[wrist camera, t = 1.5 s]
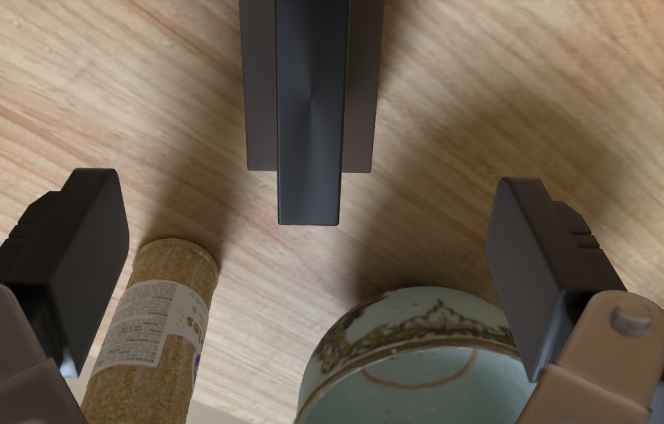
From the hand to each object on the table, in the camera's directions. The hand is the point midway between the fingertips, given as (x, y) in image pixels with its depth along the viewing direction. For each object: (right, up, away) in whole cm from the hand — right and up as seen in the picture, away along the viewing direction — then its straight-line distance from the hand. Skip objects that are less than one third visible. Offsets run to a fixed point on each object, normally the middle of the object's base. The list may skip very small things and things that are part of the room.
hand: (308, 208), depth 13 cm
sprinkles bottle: (-8, -3, +20) cm, 21 cm away
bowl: (+5, -6, +22) cm, 24 cm away
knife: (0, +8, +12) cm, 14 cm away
